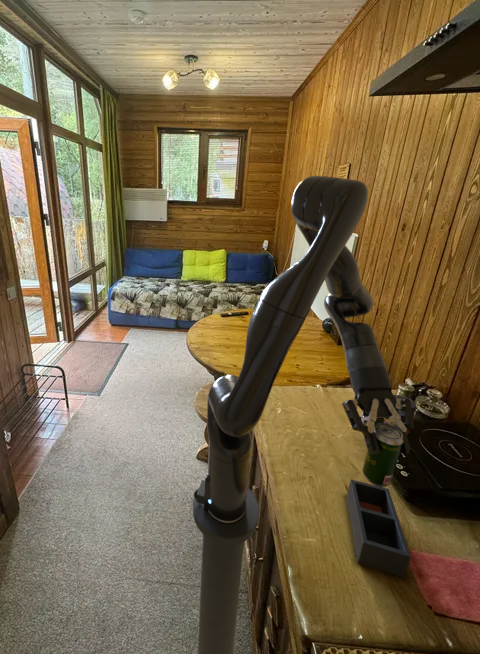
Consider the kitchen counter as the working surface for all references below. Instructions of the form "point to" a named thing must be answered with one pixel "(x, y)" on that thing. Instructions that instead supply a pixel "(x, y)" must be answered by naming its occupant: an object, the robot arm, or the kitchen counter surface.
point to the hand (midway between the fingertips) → (390, 453)
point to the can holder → (377, 529)
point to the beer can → (383, 455)
